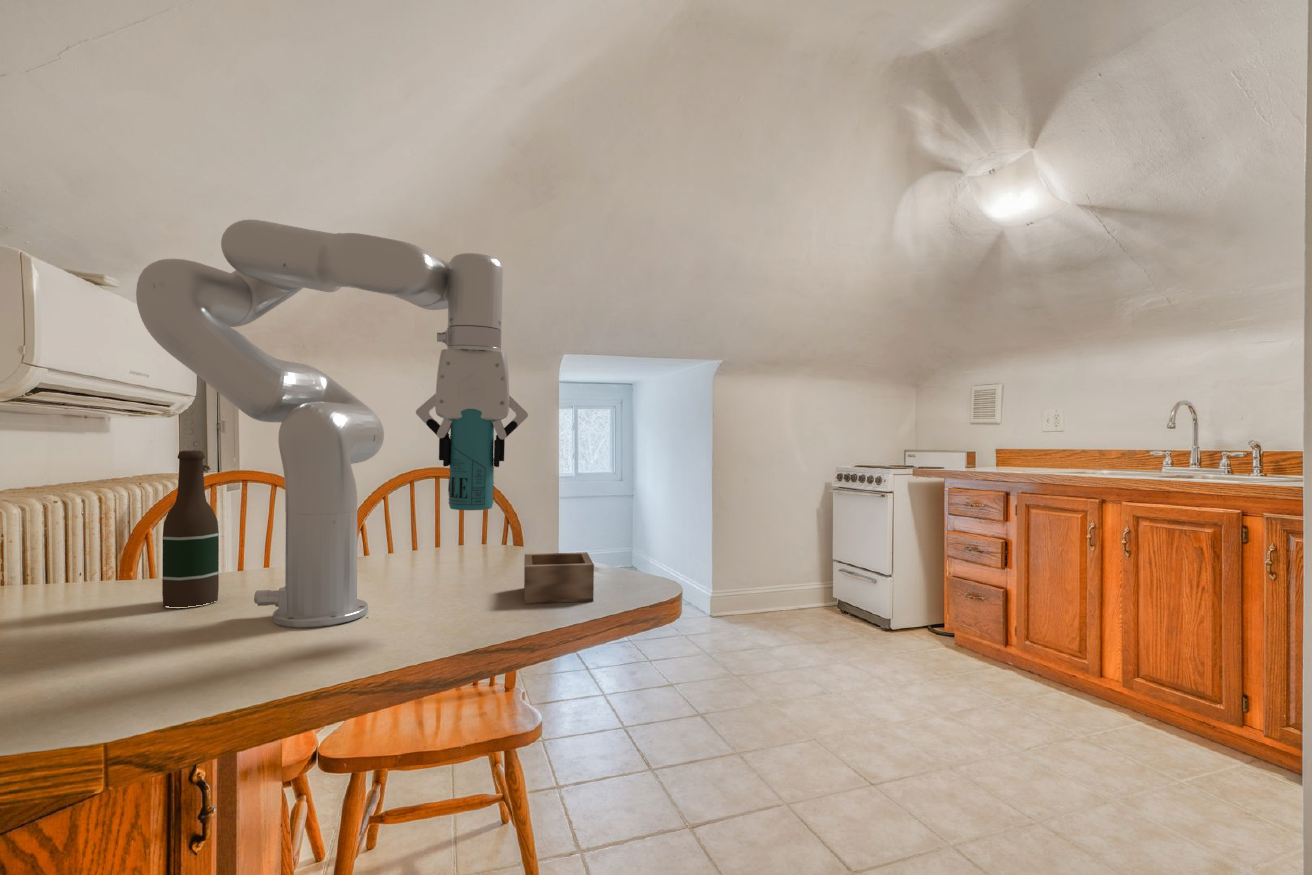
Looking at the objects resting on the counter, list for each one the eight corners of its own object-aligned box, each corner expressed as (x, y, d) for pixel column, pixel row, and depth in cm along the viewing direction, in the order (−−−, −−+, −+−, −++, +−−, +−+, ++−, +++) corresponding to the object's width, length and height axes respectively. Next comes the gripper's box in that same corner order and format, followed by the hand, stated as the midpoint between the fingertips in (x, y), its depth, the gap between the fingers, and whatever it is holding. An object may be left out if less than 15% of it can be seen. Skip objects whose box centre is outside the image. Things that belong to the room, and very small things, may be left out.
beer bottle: (229, 601, 108) (230, 450, 107) (174, 612, 101) (174, 452, 101) (205, 594, 112) (206, 449, 112) (151, 604, 105) (151, 450, 105)
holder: (524, 603, 109) (525, 566, 108) (524, 587, 119) (524, 553, 119) (593, 601, 111) (593, 564, 111) (586, 585, 122) (587, 552, 121)
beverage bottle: (499, 516, 101) (503, 382, 101) (484, 522, 95) (487, 379, 95) (457, 514, 102) (460, 381, 102) (439, 520, 96) (442, 378, 95)
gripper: (407, 336, 93) (404, 467, 93) (535, 342, 96) (533, 468, 96) (415, 342, 100) (413, 463, 100) (534, 348, 104) (532, 465, 104)
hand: (471, 465), depth 98 cm, fingers closed on beverage bottle, 6 cm apart
